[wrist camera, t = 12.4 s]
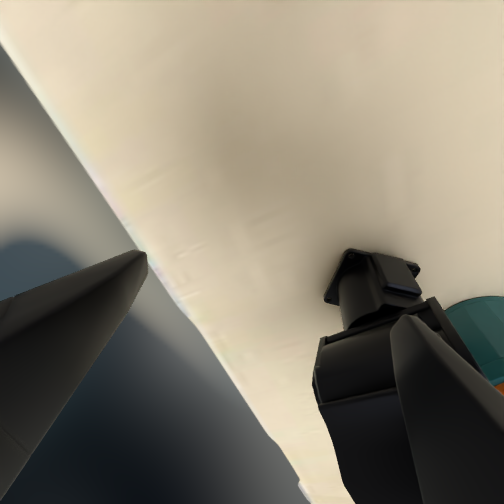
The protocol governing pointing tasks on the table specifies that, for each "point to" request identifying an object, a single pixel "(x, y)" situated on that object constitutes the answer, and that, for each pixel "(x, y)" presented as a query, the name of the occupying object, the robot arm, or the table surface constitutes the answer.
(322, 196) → the table surface
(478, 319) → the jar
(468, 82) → the table surface
